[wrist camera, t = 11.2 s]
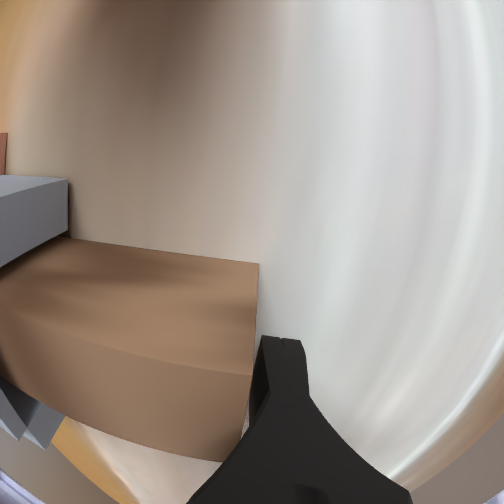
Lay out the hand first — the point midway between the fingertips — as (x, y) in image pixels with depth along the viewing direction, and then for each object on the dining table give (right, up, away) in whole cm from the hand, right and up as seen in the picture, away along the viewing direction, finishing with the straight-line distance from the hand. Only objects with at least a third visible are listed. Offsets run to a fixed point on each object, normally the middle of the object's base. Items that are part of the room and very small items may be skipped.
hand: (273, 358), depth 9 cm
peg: (-6, +2, +1) cm, 7 cm away
